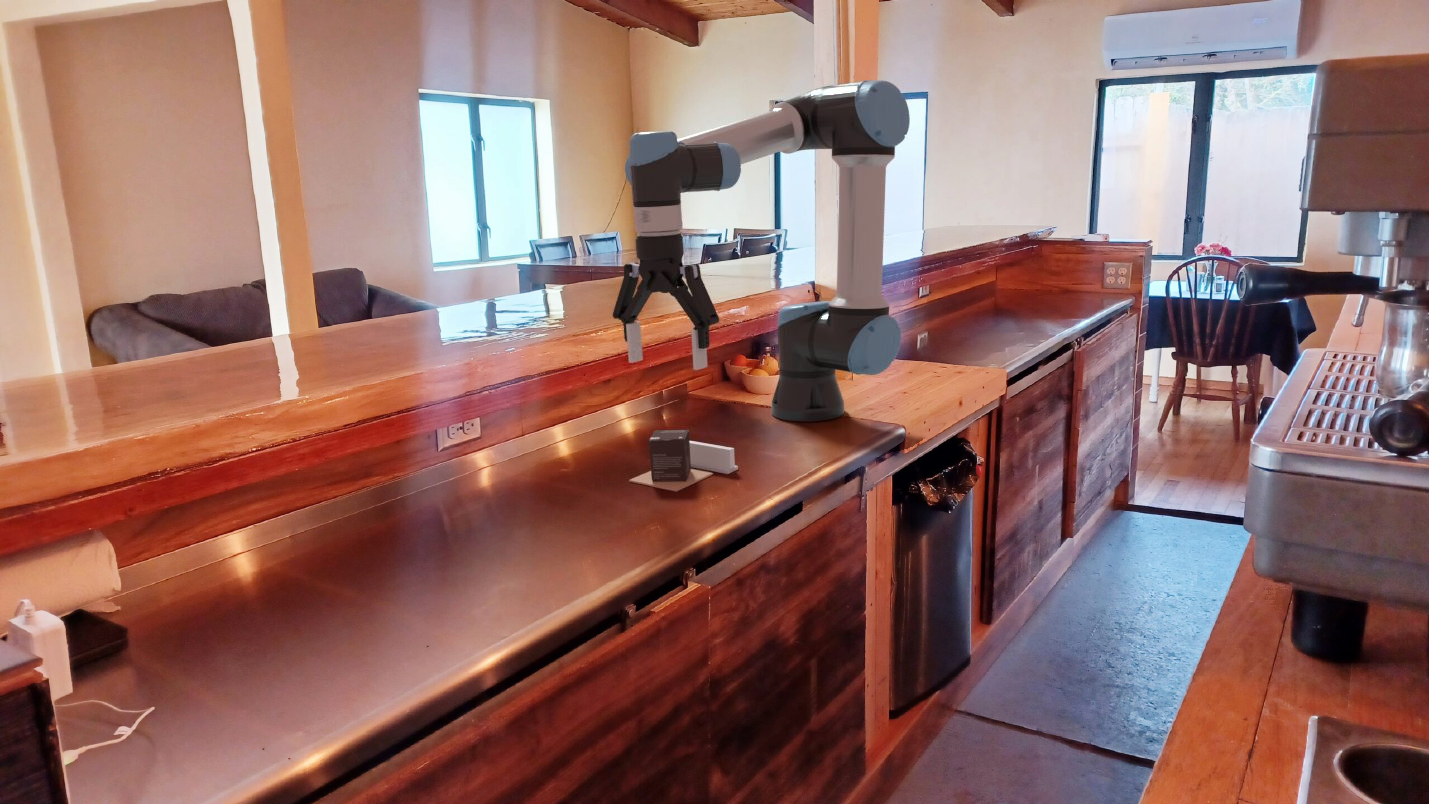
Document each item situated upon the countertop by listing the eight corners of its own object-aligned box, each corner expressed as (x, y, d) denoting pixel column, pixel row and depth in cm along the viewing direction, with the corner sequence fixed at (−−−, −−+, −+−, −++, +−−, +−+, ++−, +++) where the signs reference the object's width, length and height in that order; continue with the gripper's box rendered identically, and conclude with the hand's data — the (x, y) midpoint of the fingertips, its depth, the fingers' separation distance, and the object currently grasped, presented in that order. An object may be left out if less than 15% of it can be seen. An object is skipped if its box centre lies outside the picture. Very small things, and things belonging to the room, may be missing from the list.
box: (691, 470, 161) (690, 429, 160) (687, 482, 155) (685, 439, 154) (656, 470, 162) (654, 429, 160) (650, 482, 156) (648, 439, 154)
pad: (667, 465, 166) (667, 464, 165) (713, 474, 160) (712, 472, 160) (629, 481, 158) (629, 479, 158) (676, 491, 152) (676, 489, 152)
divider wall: (678, 458, 170) (677, 436, 169) (737, 469, 162) (737, 446, 161) (668, 462, 167) (666, 440, 166) (727, 474, 160) (726, 451, 159)
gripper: (584, 235, 153) (595, 362, 159) (708, 236, 139) (715, 376, 144) (615, 231, 159) (625, 354, 165) (737, 231, 145) (743, 366, 150)
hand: (667, 364), depth 154 cm, fingers open, 13 cm apart
